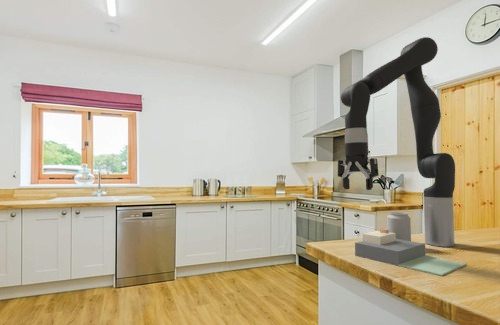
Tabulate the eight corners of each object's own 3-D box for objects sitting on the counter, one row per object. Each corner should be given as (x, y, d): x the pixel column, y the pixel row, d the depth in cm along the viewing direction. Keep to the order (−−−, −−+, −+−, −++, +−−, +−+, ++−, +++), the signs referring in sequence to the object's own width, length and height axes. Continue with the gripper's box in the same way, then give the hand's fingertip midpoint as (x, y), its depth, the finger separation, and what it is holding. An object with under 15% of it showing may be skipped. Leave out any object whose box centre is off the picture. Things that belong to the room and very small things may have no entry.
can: (414, 249, 105) (413, 214, 105) (390, 248, 106) (389, 213, 107) (407, 244, 112) (406, 211, 112) (385, 243, 113) (384, 211, 114)
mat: (425, 256, 95) (425, 255, 95) (466, 264, 86) (466, 263, 86) (398, 265, 86) (398, 264, 86) (441, 276, 77) (441, 274, 77)
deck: (383, 248, 106) (382, 236, 107) (425, 256, 95) (425, 243, 95) (355, 255, 97) (354, 242, 97) (398, 265, 86) (398, 251, 86)
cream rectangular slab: (378, 238, 104) (378, 227, 104) (395, 241, 99) (395, 230, 99) (362, 241, 99) (362, 230, 99) (380, 244, 94) (379, 233, 94)
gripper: (381, 141, 102) (383, 189, 101) (345, 144, 113) (346, 188, 113) (369, 139, 97) (370, 190, 97) (332, 143, 109) (333, 189, 108)
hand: (357, 189), depth 105 cm, fingers open, 8 cm apart
